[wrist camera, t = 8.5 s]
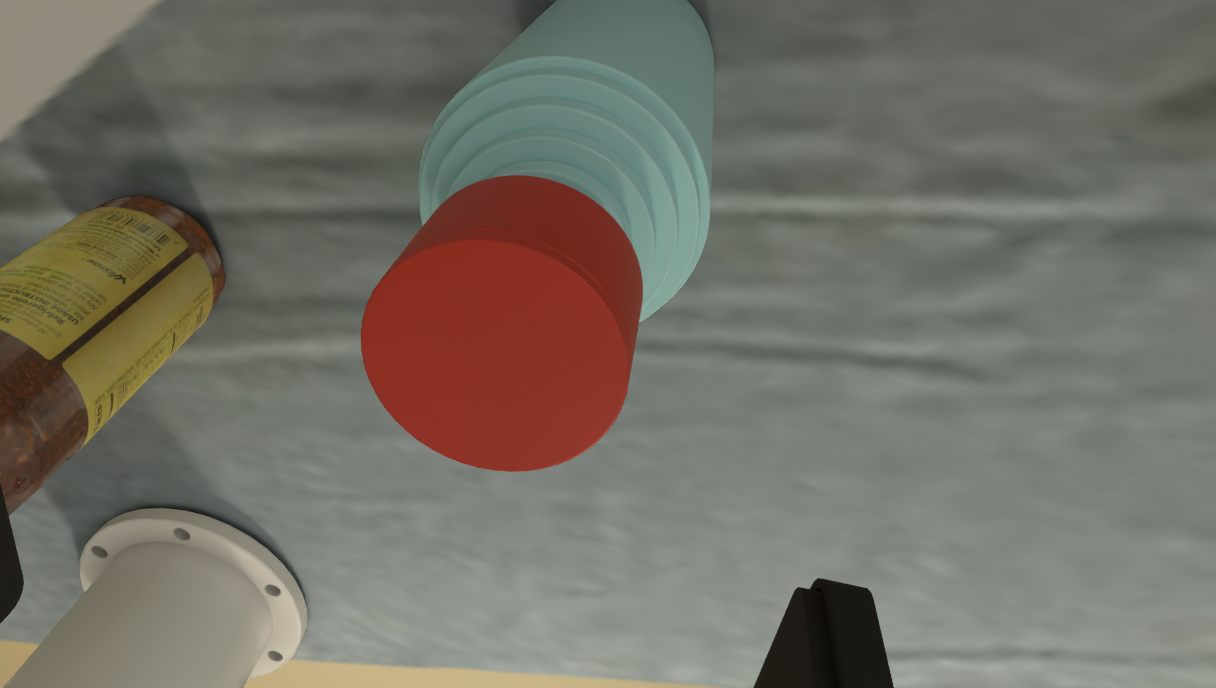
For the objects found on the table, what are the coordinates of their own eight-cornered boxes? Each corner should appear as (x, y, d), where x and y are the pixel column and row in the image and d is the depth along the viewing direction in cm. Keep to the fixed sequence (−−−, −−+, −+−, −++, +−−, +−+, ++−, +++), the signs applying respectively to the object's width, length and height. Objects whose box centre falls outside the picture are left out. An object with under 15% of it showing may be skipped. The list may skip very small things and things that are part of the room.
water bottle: (690, 176, 32) (657, 536, 15) (521, 139, 32) (304, 457, 15) (735, -6, 29) (755, 201, 12) (545, -48, 29) (300, 102, 12)
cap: (424, 149, 14) (365, 209, 12) (667, 204, 14) (656, 276, 12) (407, 355, 17) (354, 440, 14) (618, 402, 17) (600, 496, 14)
